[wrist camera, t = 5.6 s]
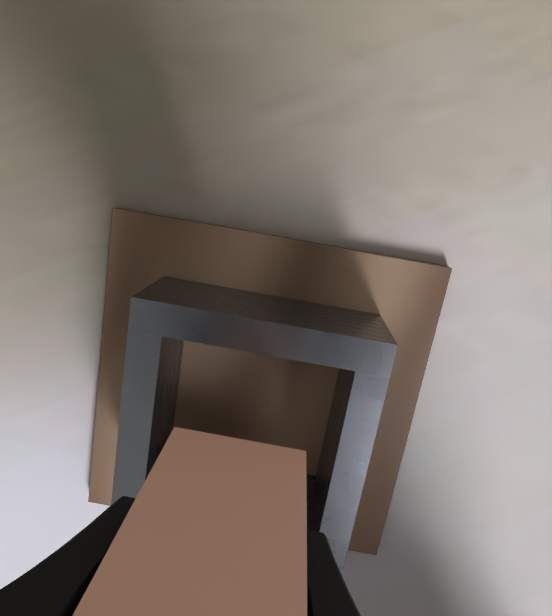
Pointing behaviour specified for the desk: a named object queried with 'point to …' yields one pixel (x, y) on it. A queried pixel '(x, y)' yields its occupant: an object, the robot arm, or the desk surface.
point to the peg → (210, 534)
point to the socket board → (263, 359)
